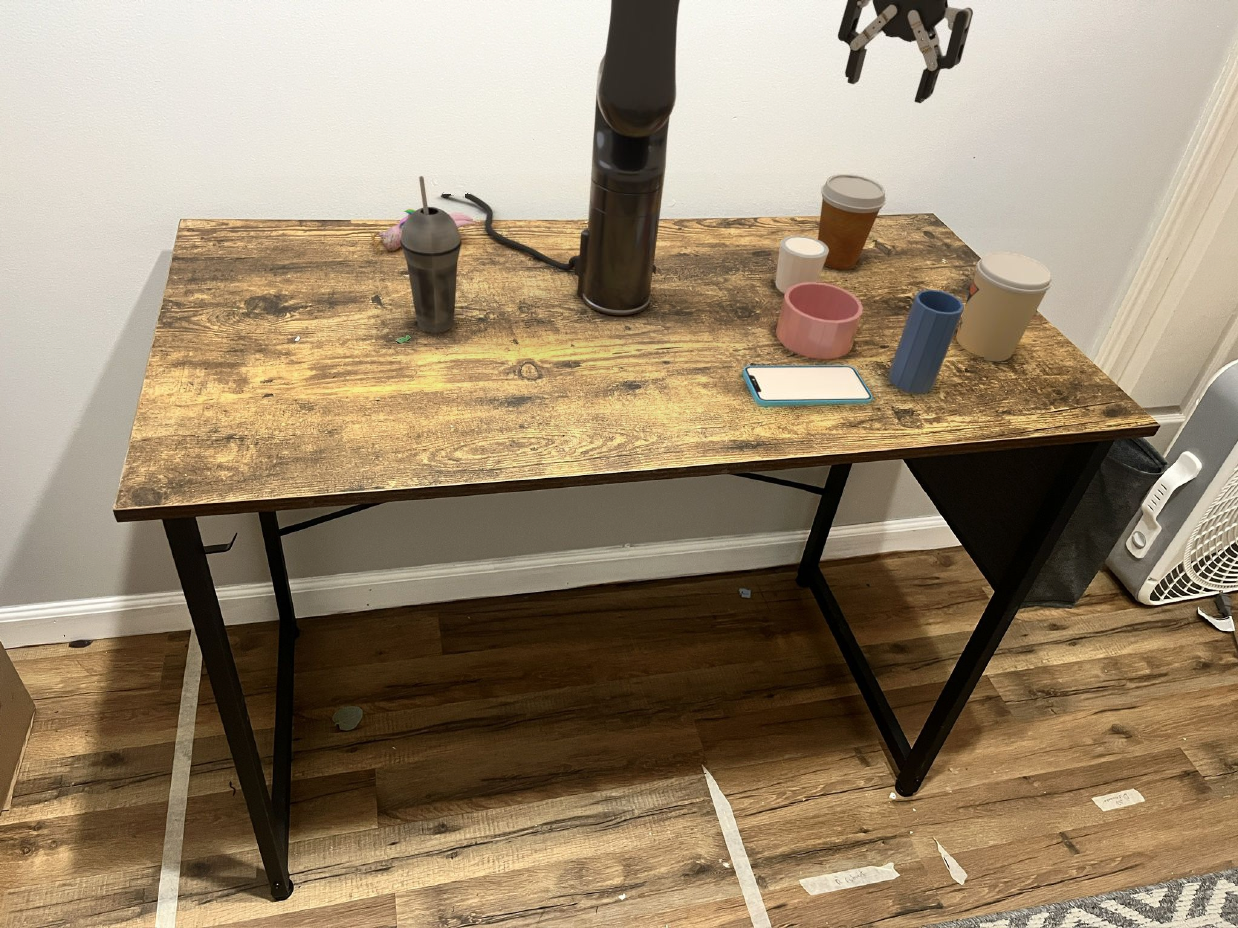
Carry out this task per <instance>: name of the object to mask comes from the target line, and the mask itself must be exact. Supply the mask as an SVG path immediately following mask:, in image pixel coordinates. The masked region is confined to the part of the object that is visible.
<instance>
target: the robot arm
mask: <svg viewBox="0 0 1238 928" xmlns="http://www.w3.org/2000/svg"><path fill="white" fill-rule="evenodd" d="M870 2H871V0H847V1H846V5H845V8H844V12H843V15H842V18H841V23H840V26H839V29H838V33H837V40H839V41H840V42H844V43H845V44H846V45H848V47H849V53H848V57H847V58H848V59H847V62H846V67H845V71H844V75H845V78H847V84H850V85H855V84H857V83H859V81H860V78H861V74H862V71H863V67H864V62H865V58H866V55H867V51H868V49H867V48H866V46H868V44H869V43H871V41H872V40H874V39H875V38H876V37H877V36H878V35H880V34H881V33H883V34H884V36H885V37H888V38H899V39H901V40H902V41H903V42H907V43H912V42H916V44H917V46H918V49H919V52H920V53H921V54H922V56H923V59H924V63H925V66H926V67H925V68H924V69H923V70H922V73H921V77H920V79H919V83H918V87H917V90H916V94H915V96H914V103H917V104H922V103H924V102H925V100H927V99H930V97H932V95H933V93H934V91H935V88H936V84H937V81H938V77H939V75H940V72H941V70H945V69H946V70H951V69H953V68H954V67H955V66H957V65H959V64H960V63H961V61H962V57H963V53H964V50H965V46H966V42H967V38H968V34H969V32H970V31H969V30H970V27H971V23H972V19H973V14H974V11H973V9H972V7H965V8H957V7H951V6H949V4H948V3H949V2H948V0H872V5H873V9H874V11H875V15H876V17H875V19H873V20H872V21H871V22H870V23H869V24H868V25H867V26H866V27H865V28H864V29H863V30H862V31H861V32H860V33H859V32H858V31H857V28H858V25H859V21H860V18H861V14H862V11H863V8H866V7H867V6H868V5H869V3H870ZM680 3H681V0H610V16H609V25H608V32H607V39H606V46H605V53H604V55H603V56H602V58H601V61H600V63H599V66H598V70H597V79H596V93H595V107H594V108H595V109H594V127H593V135H592V136H593V137H592V151H591V152H592V154H591V171H590V185H589V187H590V189H589V205H588V218H587V228H585V229H583V230H582V231H581V232H580V240H579V254H578V255H574V256H571V257H570V258H569V259H568V263H564V262H560V261H557V260H554V259H552V258H551V257H549V256H547V255H545V254H543V253H541V251H538V250H536V249H534V248H532V247H530V246H528V245H526V244H523V243H520V242H518V241H516V240H512V239H510V238H508V237H505V236H504V235H501V234H499V233H498V232H497V231H496V230H495V229H494V228H493V227H492V222H493V218H494V211H493V209H492V207H491V206H490V205H489V204H487V202H485V201H483V200H482V199H481V198H480V197H477V196H476V195H474V194H472V193H470V194H468V193H469V192H468V193H467V194H465V198H464V199H466V200H468V201H470V202H472V203H473V204H476V205H477V206H478V207H480V208H481V209H483V210H484V211H485V213H486V217H485V221H484V227H485V231H486V232H487V234H488V235H489V236H490V237H491V238H493V240H496V241H497V242H499V243H501V244H503V245H505V246H508V247H510V248H513V249H516V250H518V251H521V252H523V253H526V254H528V255H530V256H531V257H533V258H535V259H537V260H539V261H541V262H543V263H545V264H547V265H549V266H551V267H555V268H557V269H560V270H563V271H573V269H574V271H573V275H574V276H576V277H577V287H576V288H577V289H576V295H577V297H580V298H581V299H582V300H583V302H584V303H585V304H586V305H587V306H588V307H589V308H590V309H592V310H594V311H596V312H598V313H601V314H605V315H611V316H631V315H635V314H639V313H641V312H643V311H644V310H646V309H647V308H648V307H649V305H650V302H651V291H652V281H653V275H656V273H657V266H656V265H655V259H656V250H657V242H658V234H659V225H660V218H661V209H662V201H663V193H664V183H665V177H666V169H667V151H668V149H667V147H668V135H669V134H668V133H669V127H670V117H671V115H672V113H673V110H674V108H675V106H676V100H677V39H678V37H677V36H678V35H677V34H678V33H677V32H678V20H679V19H678V18H679V10H680ZM944 19H946V20H947V28H948V29H949V31H951V32H950V37H949V41H948V44H947V49H946V52H945V55H943V54H944V53H943V52H942V48H941V46H940V38H939V34H938V31H937V28H936V26H937V25H939V23H941V22H942V21H943V20H944ZM449 197H453V195H451V194H443V193H441V195H440V198H443V199H448V198H449Z"/></svg>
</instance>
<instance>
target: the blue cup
mask: <svg viewBox="0 0 1238 928" xmlns="http://www.w3.org/2000/svg"><path fill="white" fill-rule="evenodd" d="M964 308H965V304H964V303H963V301H962V300H961V299H959V298H958V297H957V296H956V295H953V294H952V293H949V292H946V291H943V290H941V289H940V290H939V289H932V288H931V289H928V288H927V289H923V290H919V291H918V292H916V294H915V296H914V299H913V302H912V304H911V307H910V310H909V313H908V316H907V319H906V320H905V321H906V322H905V324H904V327H903V330H902V334H901V336H900V339H899V342H898V345H897V348H896V351H895V354H894V356H893V360H892V362H891V365H890V368H889V370H888V374H887V377H888V380H889V382H890V383H891V384H892V385H893V386H894V387H895V388H897V389H898V390H900V391H902V392H906V393H908V394H913V395H923V394H927V393H930V392H931V391H932V390H933V388H934V386H935V383H936V382H937V379H938V377H939V374H940V371H941V368H942V366H943V364H944V361H945V358H946V356H947V353H948V350H949V349H950V348H949V347H950V345H951V343H952V340H953V338H954V335H955V332H956V330H957V329H958V328H957V327H958V326H959V323H960V321H961V318H962V314H963V311H964Z"/></svg>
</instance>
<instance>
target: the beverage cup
mask: <svg viewBox="0 0 1238 928" xmlns="http://www.w3.org/2000/svg"><path fill="white" fill-rule="evenodd" d="M418 179H419V186H420V193H421V194H420V195H421V201H422V202H421V203H422V207H419V208H418V209H416V210H414V212H413V213H412V214H411V215H410V216H409V217H408V218H407V219H406V221H405V223H404V226H403V229H402V234H401V241H400V243H401V246H400V247H401V249H402V253H403V255H404V259H405V261H406V266H407V267H406V268H407V273H408V280H409V284H410V290H411V296H412V302H413V308H414V314H415V317H416V321H417V326H418V328H419V329H420V330H421V331H424V332H426V333H431V334H440V333H444V332H448V331H449V330H450V329H452V327H454V317H455V314H456V313H455V311H456V309H455V308H456V295H457V278H458V277H457V276H458V261H459V257H460V252H461V247H462V243H463V240H462V238H461V234H460V230H459V228H457V225H456V223H455V221H454V220H453V218H452V217H451V216H450V215H449V214H450V213H448V212H446V211H444V210H443V209H441V208H438V207H434V206H428V200H427V192H426V191H427V190H426V184H425V178H424V176H423V175H420V176H419V177H418Z"/></svg>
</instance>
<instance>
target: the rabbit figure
mask: <svg viewBox="0 0 1238 928" xmlns="http://www.w3.org/2000/svg"><path fill="white" fill-rule="evenodd" d="M414 211H415V210H414V209H412V208H408V209H405V210H404V211H403V212H404V213H406V214H408V215H406V216H403V218H401V219H400V220H399V222H398V223H397V225H393V226H391V227H389V228H388V229H386V230H384V231H381V230H377V231H376V232H375V233H374V234H373V233H372V232H370V235H371V236H370V238H371V241H372V242H373V246H374V250H376V253H378V252H379V248H378V247H379V245H380V244H383V246H384V248H385V249H386V250H388V251H392V252H393V251H396V250H398V249H399V248H400V247H402V246H401V243H400V241H401V234H402V229H403V226H404V223H405V221H406V219H407V218H408V217H409V216H410V215H411V214H412V213H413V212H414ZM448 214H449V215H450V216H451V217H452V218H453V220H454V221H455V223H456V225H457V228H458V229H459V228H462V227H464V226H475V225H476V222H475V221H474V218H473V217H471V216H469V215H467V214H464V213H461V212H452V213H448ZM376 237H380V238H379V240H378V241H377V242H376V240H375V238H376Z"/></svg>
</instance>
